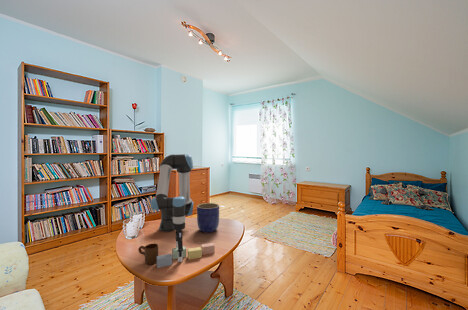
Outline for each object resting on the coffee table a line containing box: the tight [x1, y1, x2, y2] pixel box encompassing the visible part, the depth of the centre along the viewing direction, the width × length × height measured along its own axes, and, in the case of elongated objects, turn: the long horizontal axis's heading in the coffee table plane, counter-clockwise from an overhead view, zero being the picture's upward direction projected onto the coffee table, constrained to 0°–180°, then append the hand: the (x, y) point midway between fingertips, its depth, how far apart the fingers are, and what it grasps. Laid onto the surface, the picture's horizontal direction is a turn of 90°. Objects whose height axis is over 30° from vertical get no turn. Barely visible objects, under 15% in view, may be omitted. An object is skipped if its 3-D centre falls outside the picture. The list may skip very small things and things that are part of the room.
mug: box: [138, 243, 159, 266], centre depth 125 cm, size 12×8×9 cm, turn 83°
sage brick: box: [171, 245, 187, 260], centre depth 132 cm, size 8×4×5 cm, turn 116°
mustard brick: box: [187, 246, 203, 260], centre depth 131 cm, size 8×4×5 cm, turn 110°
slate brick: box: [156, 252, 173, 269], centre depth 122 cm, size 8×4×5 cm, turn 116°
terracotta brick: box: [200, 242, 216, 256], centre depth 137 cm, size 8×4×5 cm, turn 110°
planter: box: [196, 202, 220, 234], centre depth 175 cm, size 18×18×21 cm
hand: (179, 256), depth 131 cm, fingers open, 13 cm apart
